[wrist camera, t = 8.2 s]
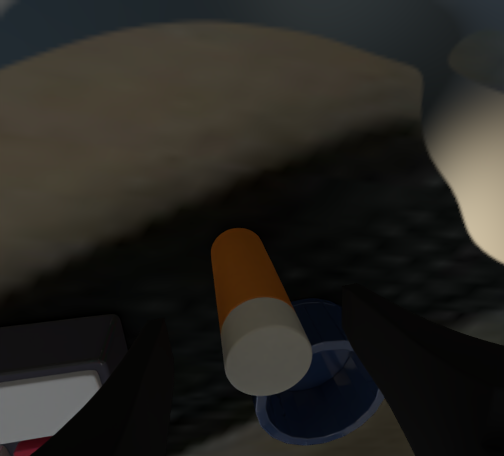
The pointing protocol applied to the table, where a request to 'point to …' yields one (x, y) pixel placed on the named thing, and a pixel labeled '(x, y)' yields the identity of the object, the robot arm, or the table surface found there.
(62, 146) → the table surface
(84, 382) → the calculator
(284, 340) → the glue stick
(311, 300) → the dark blue round bowl
